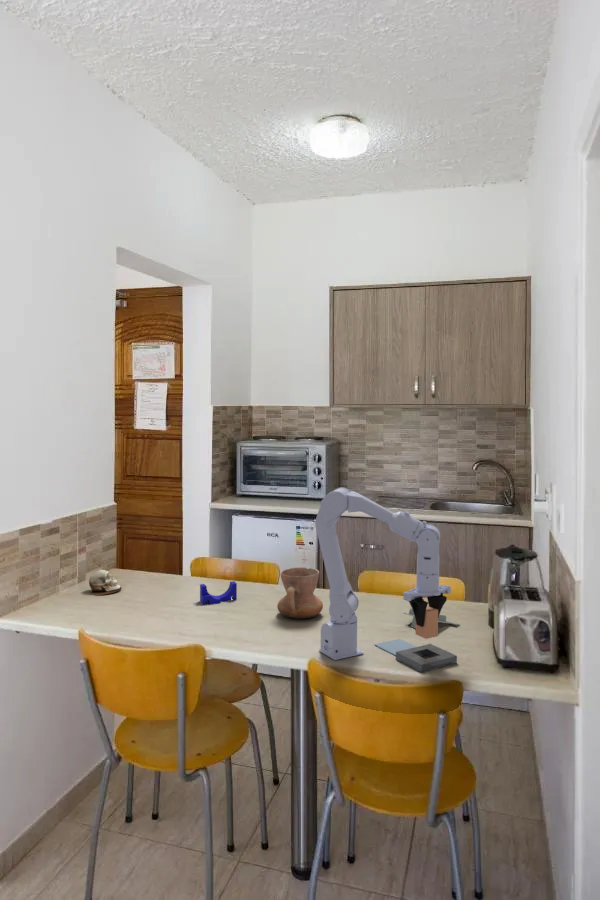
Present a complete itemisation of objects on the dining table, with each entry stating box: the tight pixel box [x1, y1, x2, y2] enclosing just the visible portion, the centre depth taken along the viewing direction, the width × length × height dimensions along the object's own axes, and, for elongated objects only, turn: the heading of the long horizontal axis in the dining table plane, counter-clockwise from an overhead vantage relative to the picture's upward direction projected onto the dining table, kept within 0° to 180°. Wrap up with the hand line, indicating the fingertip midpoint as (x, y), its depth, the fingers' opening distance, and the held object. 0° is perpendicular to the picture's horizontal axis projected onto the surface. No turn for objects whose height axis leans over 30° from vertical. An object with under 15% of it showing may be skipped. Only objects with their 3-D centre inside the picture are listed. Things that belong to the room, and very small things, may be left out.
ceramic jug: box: [276, 566, 324, 620], centre depth 207 cm, size 18×14×14 cm
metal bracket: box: [403, 607, 461, 629], centre depth 200 cm, size 14×6×15 cm
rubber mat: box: [374, 638, 417, 657], centre depth 180 cm, size 9×9×1 cm
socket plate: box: [395, 643, 458, 674], centre depth 170 cm, size 12×10×2 cm
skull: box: [88, 569, 122, 596], centre depth 234 cm, size 12×10×10 cm
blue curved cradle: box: [199, 581, 238, 606], centre depth 222 cm, size 12×4×6 cm, turn 112°
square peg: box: [415, 605, 439, 640], centre depth 170 cm, size 4×4×7 cm
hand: (426, 624), depth 170 cm, fingers closed on square peg, 4 cm apart
